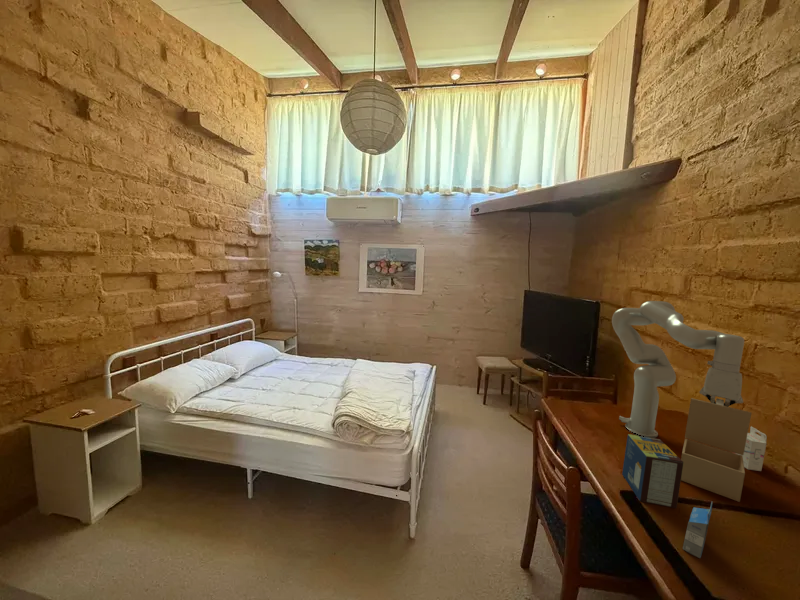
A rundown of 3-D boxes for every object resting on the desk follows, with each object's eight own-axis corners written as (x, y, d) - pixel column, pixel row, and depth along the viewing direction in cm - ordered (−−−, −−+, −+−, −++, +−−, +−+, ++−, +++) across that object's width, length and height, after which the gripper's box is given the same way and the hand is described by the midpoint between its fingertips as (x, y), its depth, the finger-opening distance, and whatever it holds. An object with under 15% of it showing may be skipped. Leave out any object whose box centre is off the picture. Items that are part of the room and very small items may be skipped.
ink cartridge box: (730, 457, 142) (736, 423, 141) (744, 459, 141) (751, 425, 140) (747, 469, 134) (753, 433, 133) (762, 471, 133) (769, 435, 132)
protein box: (654, 480, 123) (660, 438, 121) (677, 509, 108) (684, 462, 106) (621, 474, 125) (627, 433, 123) (639, 501, 110) (646, 455, 109)
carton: (677, 479, 124) (682, 452, 123) (681, 462, 136) (685, 438, 135) (739, 501, 113) (744, 473, 112) (737, 481, 125) (742, 455, 124)
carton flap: (690, 398, 132) (692, 392, 137) (684, 437, 135) (686, 430, 140) (751, 413, 121) (750, 406, 126) (743, 455, 124) (742, 447, 129)
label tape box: (687, 533, 97) (694, 493, 96) (706, 542, 94) (713, 501, 93) (681, 549, 91) (689, 506, 90) (702, 560, 88) (709, 515, 87)
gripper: (697, 363, 132) (690, 409, 134) (756, 374, 121) (747, 424, 123) (698, 360, 138) (691, 404, 140) (755, 370, 127) (746, 418, 129)
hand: (717, 413), depth 131 cm, fingers closed on carton flap, 2 cm apart
